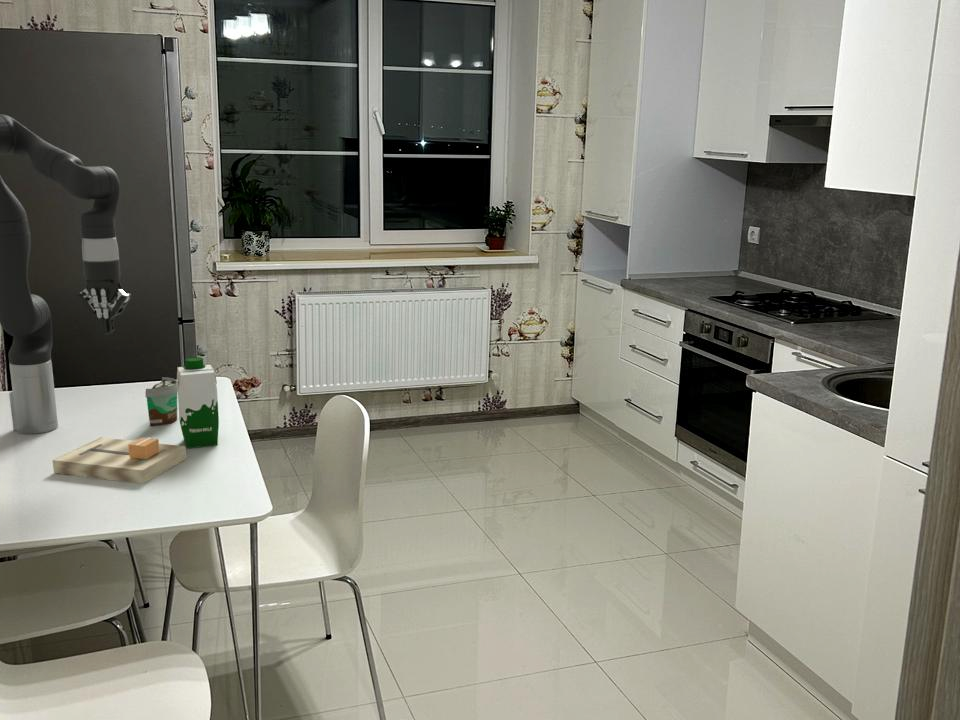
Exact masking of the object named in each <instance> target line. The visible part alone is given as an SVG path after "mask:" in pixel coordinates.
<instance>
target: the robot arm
mask: <svg viewBox="0 0 960 720" xmlns="http://www.w3.org/2000/svg"><path fill="white" fill-rule="evenodd" d="M7 155H16V156H19V157H22V158H26V159H27V160H28V161H29V162H30V164H31V166H32V168H33V169H35V171H36V172H37V173H39V174H40V175H42V176H44V177H45V178H48V179H49V180H51V181H54V182H56V183H57V184H60V186H62V187H63V189H64V190H66V191H67V192H68V193H69V194H70V195H72V196H73V197H75V198H78V199H80V200H86V201H87V200H88V201H89V200H93V202H92V203H93V204H92V207H91V208H89V209H87V210H86V211H83V212H81V215H80V227H81V228H80V229H81V230H80V231H81V253H82V263H83V264H82V265H83V277H84V279H85V280H86V283H85V286H84V287H85V288H84V289H83V290H82V291H80V292H78V293H77V295H76V296H77V297H78V299H79V301H81V303H82V304H83V305H84V308H86V310H87V311H88V312H89V314H90V315H91V316H96V317H97V318H98V322H99V331H100V332H101V334H102V335H107V336H108V335H109V336H110V335H112V334H114V332H115V329H116V327H115V317H116V316H119V315H122V313H123V311H124V310H125V308H126V307H127V305H128V303H129V302H130V300H131V299H132V294H131V293H126V292H125V291H124V290H123V287H122V284H121V282H120V279H121V276H122V275H121V265H120V252H119V246H118V240H117V231H116V220H115V219H116V214H117V209H118V203H119V198H120V192H121V184H120V179H119V177H118V174H117V173H116V171H115V170H113V168H111V167H109V166H105V165H103V166H102V165H100V166H99V165H98V166H84V163H83V162H82V160H81V159H80V158H79V157H77V156H76V155H74V154H72V153H70V152H67V151H65V150H63V149H61V148H59V147H57V146H55V145H53V144H51V143H49V142H47V141H46V140H44V139H42V138H41V137H40V136H38V135H37V134H36V133H34V132H33V131H31V130H30V129H28V127H25V126H24V125H23V124H21V123H20V122H19V121H17V120H16V119H14V117H11V116H10V115H6V114H1V113H0V156H7ZM27 215H28V214H27V212H26V210H25V208H24V206H23V204H22V202H20V200H19V199H18V198H17V197H16V196H15V194H14V193H13V192H12V191H11V189H10V188H9V186H8V185H7V184H6V183H5V181H4V179H3V178H2V176H1V175H0V326H1V328H2V329H3V331H5V333H7V334H9V335H10V336H11V337H12V338H13V340H12V344H11V346H10V348H9V350H8V363H9V365H8V366H9V371H10V372H9V373H10V380H11V388H12V391H10V392H9V402H10V403H9V405H10V412H11V420H12V421H11V423H12V430H13V431H17V432H18V433H21V434H24V435H25V434H26V435H27V434H32V435H33V434H42V433H46V432H50V431H53V430H56V429H57V428H58V427H59V421H58V412H57V401H56V393H55V392H56V390H55V383H54V382H55V381H54V374H53V363H52V349H53V345H54V344H53V340H54V339H53V324H52V314H51V310H50V306H49V305H48V303H47V302H46V300H45V299H43V297H42V296H39V295H37V294H34V293H31V291H30V285H29V279H28V277H29V276H28V269H29V262H30V261H29V260H30V256H31V244H32V240H31V230H30V226H29V222H28V221H29V220H28V216H27Z"/></svg>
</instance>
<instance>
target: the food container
mask: <svg viewBox="0 0 960 720" xmlns="http://www.w3.org/2000/svg"><path fill="white" fill-rule="evenodd" d="M144 394H145V398H146V405H147V412H148V419H149V426H150V427H159V426H166V425H169V424H173V423H175V422H177V420H178V386H177V378H176V379H175V378H172V377H163V376H162V377H161V381H160V382H159V383H155V384H154V385H153V386H152V387H151V388H145V393H144Z"/></svg>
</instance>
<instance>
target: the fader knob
mask: <svg viewBox="0 0 960 720" xmlns="http://www.w3.org/2000/svg"><path fill="white" fill-rule="evenodd" d="M133 441H134V442H132V443H130V444H128V445H129V457H130V458H137V459H148V458H149V457H151V456H153V455H155V454H157V453H158V452H159V444H160V441H159V438H152V437H140V438H139V439H136V440H133Z"/></svg>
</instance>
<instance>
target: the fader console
mask: <svg viewBox="0 0 960 720" xmlns="http://www.w3.org/2000/svg"><path fill="white" fill-rule="evenodd" d="M134 441H135V440H131V439H130V440H129V439H120V438H119V439H118V438H110V437H99V438H96V439H94V440H92V441H90V442H88V443H85V444H83V445H82V446H81V445H80V446H79V447H77V448H76V449H73V450H71V451H69V452H66V453H65V454H63V455H60V456H58V457H57V458H54V459H52V466H53V467H52V468H53V474H56V473H60V474H59V475H64V474H69V475H68V476H73V475H77V476H76V477H81V476H86V477H85V478H90V477H92V478H91V479H98V478H100V479H99V480H108V481H116V482H125V483H131V484H132V483H134V484H142V485H143V484H146V483H147V482H149V481H150V480H153V479H154V478H156V477H158V476H159V475H161V474H163V473H164V471H165V472H166V471H168V470H169V468H170V469H171V468H173V467H174V465H175V466H177V465H178V464H180V463H181V461H182V460H183V461H184V460H186V459H187V455H186V454H187V452H186V445H178V444H169V443H159V452H158V453H157V454H155V455H153V456H151V457H149V458H148V459H137V458H130V457H129V445H128V444H130V443H132V442H134ZM183 461H182V462H183ZM179 462H180V463H179ZM172 466H173V467H172Z"/></svg>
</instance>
